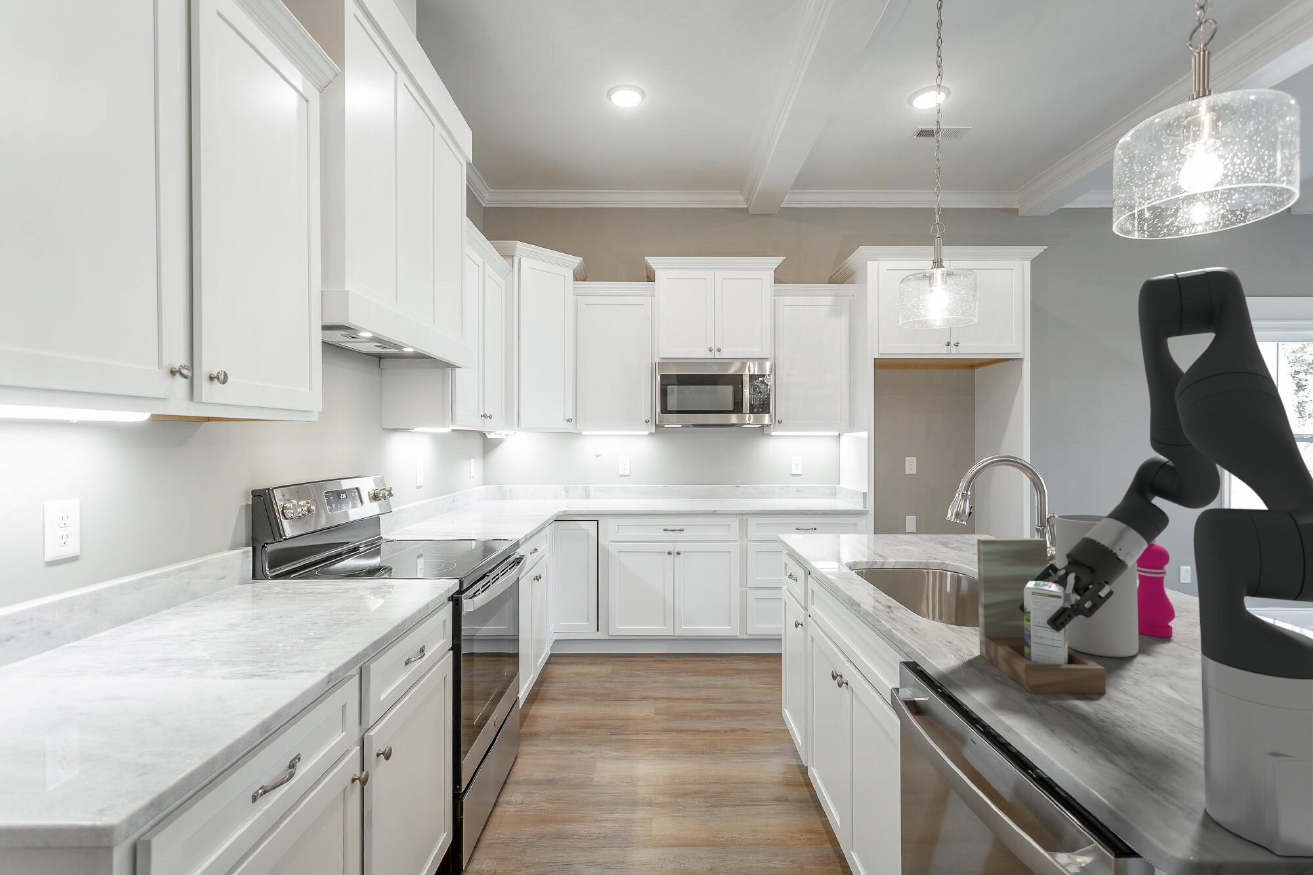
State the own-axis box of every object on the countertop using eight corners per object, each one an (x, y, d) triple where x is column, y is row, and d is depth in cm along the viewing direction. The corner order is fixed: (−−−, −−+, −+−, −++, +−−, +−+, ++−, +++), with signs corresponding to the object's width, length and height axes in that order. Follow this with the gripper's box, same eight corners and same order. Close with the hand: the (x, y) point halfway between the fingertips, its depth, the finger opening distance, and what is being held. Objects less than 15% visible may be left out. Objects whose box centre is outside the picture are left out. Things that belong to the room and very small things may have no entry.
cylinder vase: (1148, 648, 111) (1145, 518, 111) (1125, 664, 104) (1121, 525, 104) (1072, 631, 121) (1070, 512, 122) (1046, 644, 114) (1043, 518, 114)
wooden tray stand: (1105, 693, 92) (1102, 555, 93) (1030, 692, 93) (1027, 556, 93) (1043, 654, 109) (1040, 538, 109) (979, 654, 110) (977, 538, 110)
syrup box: (1029, 661, 103) (1026, 579, 103) (1069, 668, 99) (1067, 584, 99) (1024, 671, 98) (1021, 586, 98) (1067, 680, 95) (1064, 591, 95)
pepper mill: (1170, 629, 121) (1168, 534, 122) (1180, 640, 115) (1177, 539, 115) (1126, 624, 125) (1124, 532, 125) (1133, 634, 119) (1131, 537, 119)
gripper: (1062, 529, 105) (998, 593, 106) (1120, 543, 91) (1045, 617, 92) (1094, 558, 105) (1029, 622, 106) (1156, 576, 91) (1081, 650, 91)
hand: (1037, 619), depth 99 cm, fingers closed on syrup box, 7 cm apart
